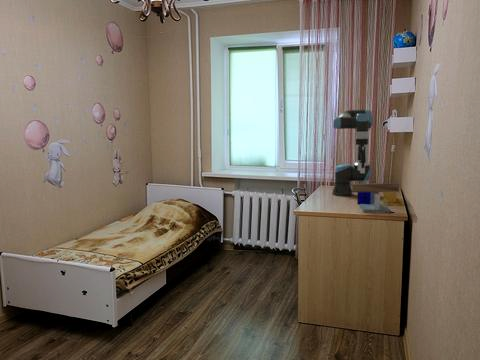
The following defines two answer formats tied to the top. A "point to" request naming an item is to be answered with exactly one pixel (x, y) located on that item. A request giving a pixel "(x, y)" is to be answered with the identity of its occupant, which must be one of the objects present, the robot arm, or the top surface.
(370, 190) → the walnut batten
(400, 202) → the dollhouse swing
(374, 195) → the steel ridge
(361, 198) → the puzzle cube
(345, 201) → the top surface
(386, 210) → the slate base
